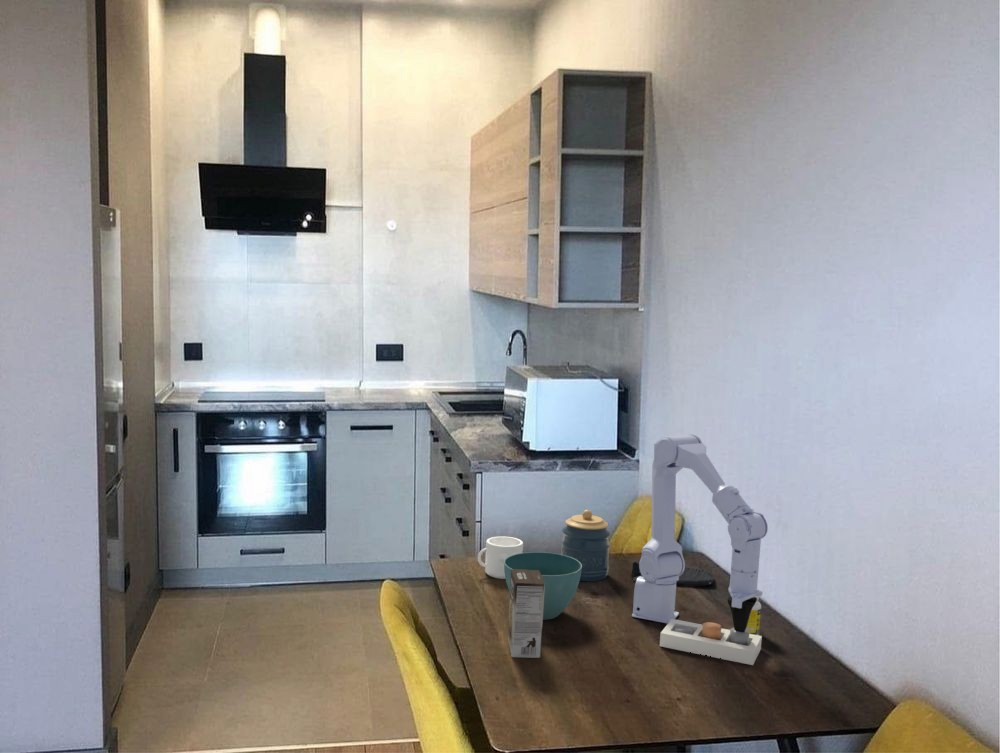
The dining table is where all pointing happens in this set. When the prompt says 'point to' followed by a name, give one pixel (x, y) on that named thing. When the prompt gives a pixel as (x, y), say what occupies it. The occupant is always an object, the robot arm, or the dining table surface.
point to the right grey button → (739, 637)
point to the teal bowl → (549, 577)
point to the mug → (499, 554)
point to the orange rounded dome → (711, 630)
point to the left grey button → (684, 630)
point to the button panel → (709, 643)
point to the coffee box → (526, 613)
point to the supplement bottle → (754, 618)
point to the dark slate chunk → (682, 576)
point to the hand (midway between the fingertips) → (740, 630)
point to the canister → (587, 544)
